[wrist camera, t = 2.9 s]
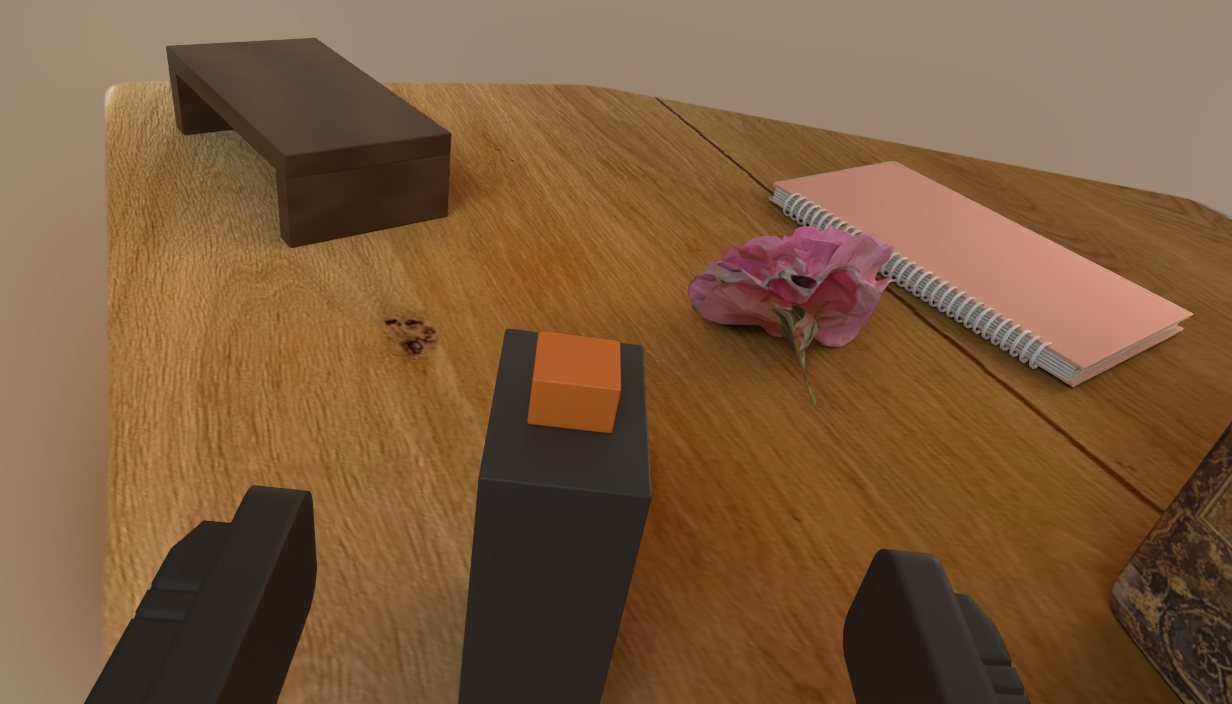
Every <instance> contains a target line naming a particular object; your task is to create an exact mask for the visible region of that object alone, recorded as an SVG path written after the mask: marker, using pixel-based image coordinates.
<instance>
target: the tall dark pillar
mask: <svg viewBox="0 0 1232 704" xmlns="http://www.w3.org/2000/svg"><path fill="white" fill-rule="evenodd" d="M651 498H652V492H651V474H650V457H649V439H648V422H647V404H646V387H645V369H644V352H643V346H641V345H633V344H625V343H620V342H619V341H616V340H608V339H600V338H593V337H585V336H577V335H569V334H561V333H553V332H546V331H539V332H531V331H523V330H515V329H506V330H505V335H504V341H503V346H502V352H501V357H500V363H499V369H498V374H497V380H496V385H495V391H494V396H493V402H492V407H491V413H490V418H489V424H488V429H487V435H486V440H485V446H484V451H483V457H482V462H481V468H480V473H479V480H478V491H477V502H476V513H475V524H474V535H473V546H472V557H471V568H470V579H469V590H468V601H467V612H466V623H465V634H464V645H463V656H462V667H461V678H460V689H459V701H458V704H600V701H601V697H602V693H603V689H604V685H605V681H606V677H607V673H608V670H609V666H610V662H611V658H612V654H613V650H614V646H615V642H616V638H617V634H618V630H619V626H620V622H621V618H622V614H623V610H624V606H625V602H626V598H627V594H628V590H629V586H630V582H631V578H632V574H633V570H634V566H635V562H636V558H637V554H638V550H639V546H640V542H641V538H642V534H643V530H644V526H645V522H646V518H647V514H648V510H649V506H650V502H651Z"/></svg>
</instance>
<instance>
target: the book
mask: <svg viewBox="0 0 1232 704" xmlns="http://www.w3.org/2000/svg"><path fill="white" fill-rule="evenodd" d="M1110 606H1111V609H1112V611H1113V613H1114V615H1115V616H1116V618H1117V619H1118V620H1119V622H1120V623H1121V624H1122V626H1123V627H1124V628H1125V629H1126V631H1127V632H1128V633H1129V635H1130V636H1131V637H1132V639H1133V640H1134V641H1135V642H1136V644H1137V645H1138V646H1139V648H1140V649H1141V650H1142V652H1143V653H1144V654H1145V655H1146V657H1147V658H1148V659H1149V661H1150V662H1151V663H1152V664H1153V666H1154V667H1155V668H1156V670H1157V671H1158V672H1159V674H1160V675H1161V676H1162V677H1163V678H1164V680H1165V681H1166V682H1167V683H1168V685H1169V686H1170V687H1171V688H1172V689H1173V691H1174V692H1175V693H1176V694H1177V695H1178V697H1179V698H1180V699H1181V700H1182V701H1183V703H1184V704H1232V422H1231V423H1230V424H1229V426H1228V427H1227V428H1226V430H1225V431H1224V432H1223V434H1222V435H1221V437H1220V438H1219V439H1218V441H1217V442H1216V443H1215V445H1214V446H1213V447H1212V449H1211V450H1210V451H1209V453H1208V454H1207V455H1206V457H1205V458H1204V459H1203V461H1202V462H1201V463H1200V465H1199V466H1198V468H1197V469H1196V470H1195V472H1194V473H1193V474H1192V476H1191V477H1190V478H1189V480H1188V481H1187V482H1186V484H1185V485H1184V486H1183V488H1182V489H1181V490H1180V492H1179V493H1178V494H1177V496H1176V497H1175V499H1174V500H1173V501H1172V503H1171V504H1170V505H1169V507H1168V508H1167V509H1166V511H1165V512H1164V513H1163V515H1162V516H1161V517H1160V519H1159V520H1158V521H1157V523H1156V524H1155V525H1154V527H1153V528H1152V530H1151V531H1150V532H1149V534H1148V535H1147V536H1146V538H1145V539H1144V540H1143V542H1142V543H1141V544H1140V546H1139V547H1138V548H1137V550H1136V551H1135V553H1134V554H1133V555H1132V557H1131V558H1130V560H1129V561H1128V562H1127V564H1126V565H1125V567H1124V568H1123V569H1122V571H1121V572H1120V574H1119V577H1118V579H1117V580H1116V582H1115V584H1114V586H1113V588H1112V591H1111V595H1110Z"/></svg>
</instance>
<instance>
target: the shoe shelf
mask: <svg viewBox="0 0 1232 704" xmlns="http://www.w3.org/2000/svg"><path fill="white" fill-rule="evenodd" d="M166 51H167V58H168V64H169V73H170V81H171V88H172V95H173V102H174V110H175V117H176V124H177V128H178V129H179V130H180V131H181V132H182V133H183V134H193V133H202V132H211V131H220V130H228V129H234V130H236V131H237V132H238V133H239V134H240V135H241V136H242V137H243V138H244V139H245V140H246V141H247V142H248V143H249V144H250V145H251V146H252V147H253V148H254V149H255V150H256V151H257V152H259V153H260V154H261V155H262V156H263V157H264V158H265V159H266V160H267V161H268V162H269V163H270V164H271V165H272V166H273V167H274V168H275V169H276V177H277V190H278V204H279V218H280V232H281V238H282V239H283V240H284V241H285V242H286V243H287V244H288V245H289V246H290V247H291V248H292V247H297V246H302V245H307V244H311V243H316V242H321V241H326V240H331V239H336V238H341V237H346V236H351V235H356V234H361V233H366V232H371V231H376V230H381V229H386V228H391V227H395V226H400V225H405V224H410V223H415V222H420V221H425V220H430V219H435V218H440V217H445V216H447V210H448V190H449V170H450V147H451V133H450V132H449V131H447V130H446V129H444V128H443V127H442V126H440V125H439V124H437V123H436V122H434V121H433V120H432V119H430V118H429V117H427V116H426V115H424V114H423V113H422V112H420V111H419V110H417V109H416V108H414V107H413V106H412V105H410V104H409V103H407V102H406V101H405V100H403V99H402V98H400V97H399V96H397V95H396V94H395V93H393V92H392V91H390V90H389V89H387V88H386V87H385V86H383V85H382V84H380V83H379V82H377V81H376V80H375V79H373V78H372V77H370V76H369V75H367V74H366V73H364V72H363V71H362V70H360V69H359V68H358V67H356V66H354V65H353V64H352V63H350V62H349V61H348V60H346V59H345V58H343V57H342V56H340V55H339V54H337V53H336V52H335V51H333V50H332V49H331V48H329V47H327V46H326V45H325V44H323V43H322V42H321V41H319V40H318V39H316V38H306V39H289V40H269V41H251V42H233V43H213V44H194V45H176V46H167V47H166Z"/></svg>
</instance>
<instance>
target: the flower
mask: <svg viewBox="0 0 1232 704" xmlns="http://www.w3.org/2000/svg"><path fill="white" fill-rule="evenodd" d="M894 249H895V248H894V247H893V246H892V244H891V243H890V244H886V243H884V242H883V241H881V240H880V239H878V238H877V237H876V236H875V235H874V233H873V232H871V233H865V234H861V235H856V236H852V235H851V234H850V233H848V232H845V231H842V230H839V229H836V228H834V227H832V226H830V225H829V226H828V228H826V229H825V230H823V231H820V230H818V229H817V228H816V227H799V228H797V229H795V232H794V234H793V235H791V236H789V237H788V236H787V235H785V236H784V237H783V239H780V238H779V237H774V236H763V237H759V238H754V239H752V240H751V241H749V242H748V243H746V244H745V245H743V246H741V248H738V247H735V246H731V247H730V248H729V249H728V250H727V251H726V253H725V254H724V256H723V257H722V259H721V261H718V260H717V259H714V260H712V263H711V264H710V265H708V266H707V267H706V269H705V271H704V272H703V274H702V275H700V276H697V275H696V277H695V278H694V280H693V281H692V282H691V283H690V284H689V287H688V295H689V297H690V299H691V302H692V307H693V308H694V309H695V311H696V312H697V313H698V314H699V315H700V316H702V317H703V318H705V319H708V320H710V321H713V322H716V323H719V324H733V325H759V326H761V327H763V329H764V330H765V331H766V332H767V333H768V334H769V335H770V336H777V337H785V338H786V339H787V340H788V341H789V343H790V344H791V346H792V347H793V349H794V351H795V352H796V354H797V360H798V364H799V365H800V367H801V368H802V370H803V373H804V366H805V352H806V350H807V348H808V346H809V344H810V343H811V341H812V339H813V338H815V339H816V340H817V341H818V342H820V343H821V344H822V345H823V346H830V347H842V346H844V345H846V344H847V343H849V342H850V341H851V340H853V339H854V338H855V337H856V335H857V334H858V333H859V332H860V330H861V329H862V328H863V326H864V325H865V324H866V322H867V321H868V319H869V318H870V316H871V315H872V313H873V311H874V310H875V308H876V306H877V305H878V304H880V296H881V292H882V291H883V290H884V289H885V288H886V287H887V286H888V284H889V283H890V282H892V279H891V277H889V278H886V279H883V280H881V281H876V280H875V276H876V274H877V272H878V271H879V269H880V267H881V266H882V265H883V264H885V263H886V262H888V261H889V259H890V257H891V255H892V252H893V250H894ZM804 377H805V375H804ZM805 380H806V383H807V386H808V389H809V391H810V394H811V397H812V400H813V403H814V405H815V404H817V403H816V401H815V398H814V395H813V393H812V390H811V388H810V386H809V383H808V381H807V379H806V377H805Z"/></svg>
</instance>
